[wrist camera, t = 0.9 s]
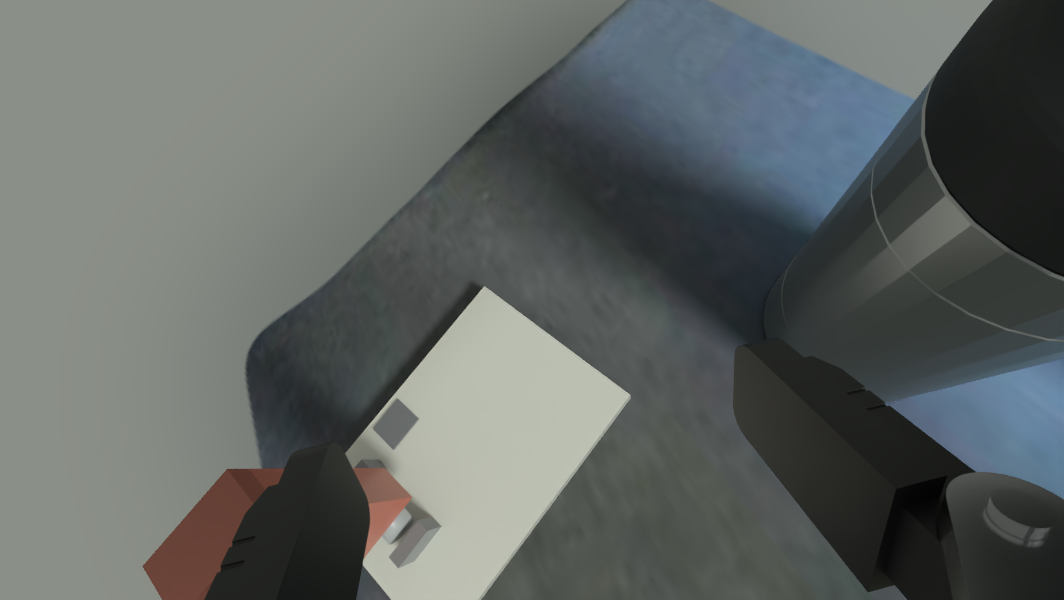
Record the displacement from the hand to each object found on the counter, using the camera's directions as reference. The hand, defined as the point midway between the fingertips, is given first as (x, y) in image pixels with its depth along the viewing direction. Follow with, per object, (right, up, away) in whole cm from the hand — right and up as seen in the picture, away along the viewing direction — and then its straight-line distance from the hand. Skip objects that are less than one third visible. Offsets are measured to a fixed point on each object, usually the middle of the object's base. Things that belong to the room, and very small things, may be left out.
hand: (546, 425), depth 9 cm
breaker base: (-4, -7, +20) cm, 22 cm away
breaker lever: (-9, -10, +17) cm, 22 cm away
